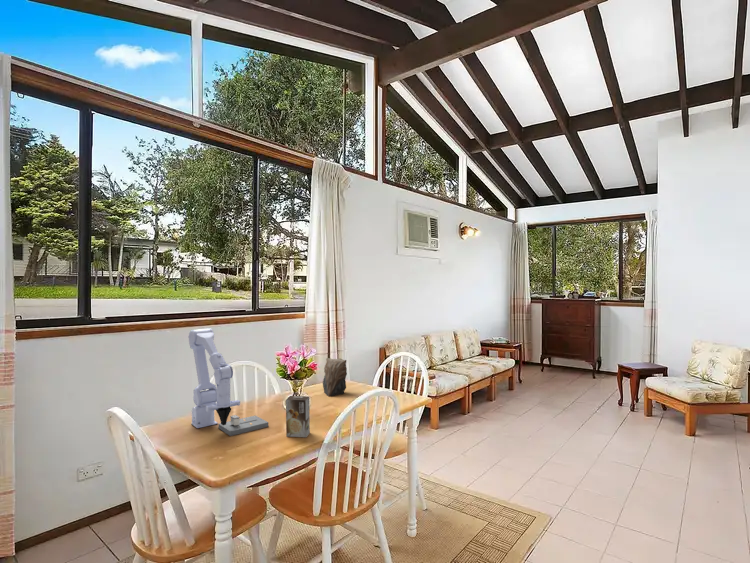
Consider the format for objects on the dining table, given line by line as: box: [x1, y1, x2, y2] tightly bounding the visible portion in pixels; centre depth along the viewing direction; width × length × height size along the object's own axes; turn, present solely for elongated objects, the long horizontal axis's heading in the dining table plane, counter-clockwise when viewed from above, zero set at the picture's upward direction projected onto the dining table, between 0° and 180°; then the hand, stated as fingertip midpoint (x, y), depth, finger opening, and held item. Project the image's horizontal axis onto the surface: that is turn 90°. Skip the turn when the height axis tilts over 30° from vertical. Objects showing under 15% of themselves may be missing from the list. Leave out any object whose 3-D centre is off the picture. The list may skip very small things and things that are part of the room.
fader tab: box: [229, 414, 241, 426], centre depth 194 cm, size 2×4×3 cm, turn 41°
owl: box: [322, 357, 348, 397], centre depth 255 cm, size 13×13×20 cm
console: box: [217, 414, 269, 437], centre depth 197 cm, size 18×13×2 cm
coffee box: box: [285, 395, 311, 438], centre depth 188 cm, size 9×6×16 cm
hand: (223, 424), depth 191 cm, fingers closed
